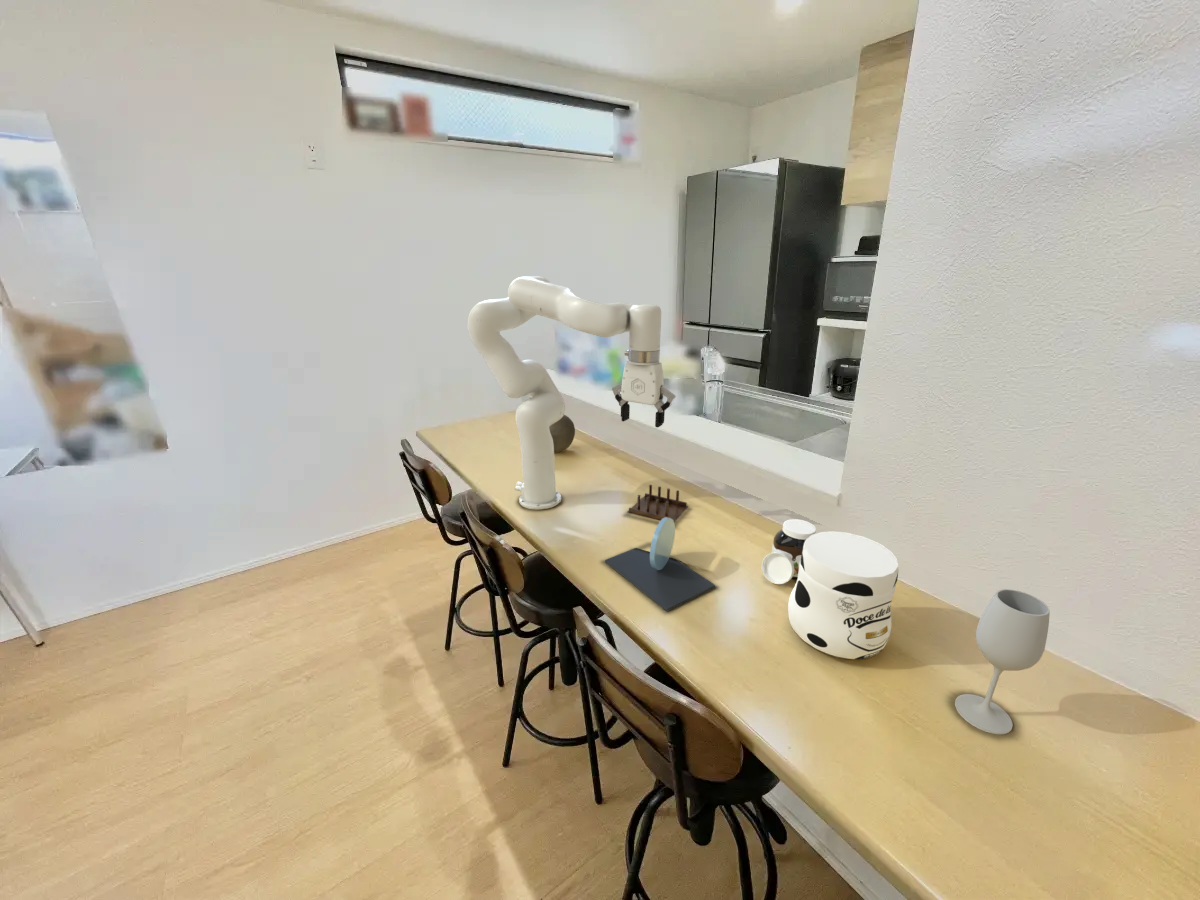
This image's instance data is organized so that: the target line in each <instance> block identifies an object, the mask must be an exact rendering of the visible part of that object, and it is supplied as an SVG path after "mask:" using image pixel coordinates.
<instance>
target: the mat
mask: <svg viewBox="0 0 1200 900" xmlns="http://www.w3.org/2000/svg"><path fill="white" fill-rule="evenodd" d="M604 563H605V564H607V565H608V566H609V567H610V568H612V569H613V570H614V571H616V572H617V573H618V574H619V575H620V576H622V577H623V578H625V579H626V580H627V582H629V583H631V584H632V586H634V587H635V588H637V589H638V590H639V591H641V592H642V593H643V594H644V595H645V596H646V597H648V598H649V599H651V600H652V601H653V602H654V603H655V604H657V605H658V606H659V607H661V608H662V609H663V610H664V611H665V612H669V611H671V610H673V609H675V608H677V607H679V606H681V605H683V604H685V603H687V602H689V601H691V600H693V599H695V598H697V597H699V596H701V595H703V594H705V593H707V592H709V591H711V590H713V589H715V588H716V584H714V583H713V582H711V581H709V580H708V579H707V578H705V577H704V576H702V575H700V574H699V573H697V572H696V571H695V570H693V569H692V568H690V567H689V566H687V565H685V564H684V563H683V562H681V561H680V560H678V559H676V558H674V557H671V556H670V557H669V559H668V561H667V563H666V565H665V566H664V568H663V569H661V570H656V569H653V568H652V567H651V564H650V550H645V549H641V548H639V547H635V548H632V549H629V550H627V551H624V552H621V553H619V554H617V555H614V556H611V557H608V558H606V559H605V560H604Z"/></svg>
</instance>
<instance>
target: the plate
mask: <svg viewBox="0 0 1200 900" xmlns="http://www.w3.org/2000/svg"><path fill="white" fill-rule="evenodd" d="M675 537H676V525H675V523H674V521H673V519H671V518H668V517H664V518H663V519H662V520H661V521H659V522H658V524H657V525H656V528H655V530H654V532H653V535H652V538H651V543H650V548H649V552H650V564H651V567H652V568H653V569H656V570H661V569H663V568H664V566H665V565H666V563H667V561H668V559H669V557H670V558H671V554H672V552H673V547H674V543H675Z"/></svg>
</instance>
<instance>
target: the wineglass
mask: <svg viewBox="0 0 1200 900" xmlns="http://www.w3.org/2000/svg"><path fill="white" fill-rule="evenodd" d="M1050 615H1051V614H1050V608H1049V606H1048V605H1047V604H1046V603H1045V602H1044V601H1042V600H1041V599H1040V598H1038V597H1036V596H1034V595H1032V594H1029V593H1027V592H1025V591H1021V590H1016V589H1009V588H1003V589H1002V588H1001V589H998V590H997V591H996V592H995V593H994V594H993V596H992V598H991V599H990V600H989V602H988V603H987V605H986V606H985V609H984V611H983V613H982V614H981V616H980V618H979V621H978V623H977V627H976V629H975V636H974V637H975V642H976V646H977V647H978V649H979V651H980V653H981V654H982V656H984V658H985V659H986V660H987V661H988V662H989V663H990V664H991V665H992V666H993V674H992V677H991V679H990V682H989V686H988V688H987V691H986V694H985V696H984V697H983V696H981V695H977V694H971V693H963V694H959V695H958V696H957V697H956V698H955V700H954V707H955V709H956V712H957V713H958V714H959V715H960V717H961V718H962V719H964V721H966V722H967V723H969V724H970V725H971V726H973V727H975V728H976V729H978V730H980V731H983V732H986V733H989V734H992V735H999V736H1000V735H1001V736H1002V735H1007V734H1009V733H1010V732H1011V731H1012V730H1013V720H1012V719H1011V717H1010V716H1009V714H1008V713H1007V712H1006V711H1005V710H1004V709H1003V707H1001V706H1000V705H998V704H996V703H995V702H994V701H992V699H993V695H994V693H995V690H996V688H997V684H998V682H999V680H1000V679H999V678H1000V677H1001V674H1002V673H1003V672H1005V671H1008V672H1011V671H1012V672H1018V671H1024V670H1028V669H1031V668H1032V667H1033V666H1035V665H1037V663H1038V662H1039V661H1040V660H1041V658H1042V657H1043V655H1044V653H1045V649H1046V644H1047V641H1048V640H1047V639H1048V633H1049V626H1050Z"/></svg>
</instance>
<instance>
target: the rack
mask: <svg viewBox="0 0 1200 900" xmlns="http://www.w3.org/2000/svg"><path fill="white" fill-rule="evenodd" d="M661 495H662V486H658V487H657V494H656V495H655V494H653V485H652V484H649V486H648V493H644V495H643V497H642V498H641V494H637V501H636V503H635V504H634V505H633V506H631V507H629V508H628V510H627V511H626V513H627V514H630V515H636V516H639V517H642V518H643V517H644V518H647V519H650V520H651V519H652V520H656V521H659V522H660V521H661V520H662V519H663V518H664V517H668V518H671V519H673V521H674V524H675V523H676V522H677V520H678V519H679V518H680V517H681V516H682V515H683V514H684V512H685V511H686V510H687V509H688V508H689V505H688V502H686V501H682V500H680V490H676V492H675V499H673V498H671V489H670V487H669V488H666V497H664V496H661Z"/></svg>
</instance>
